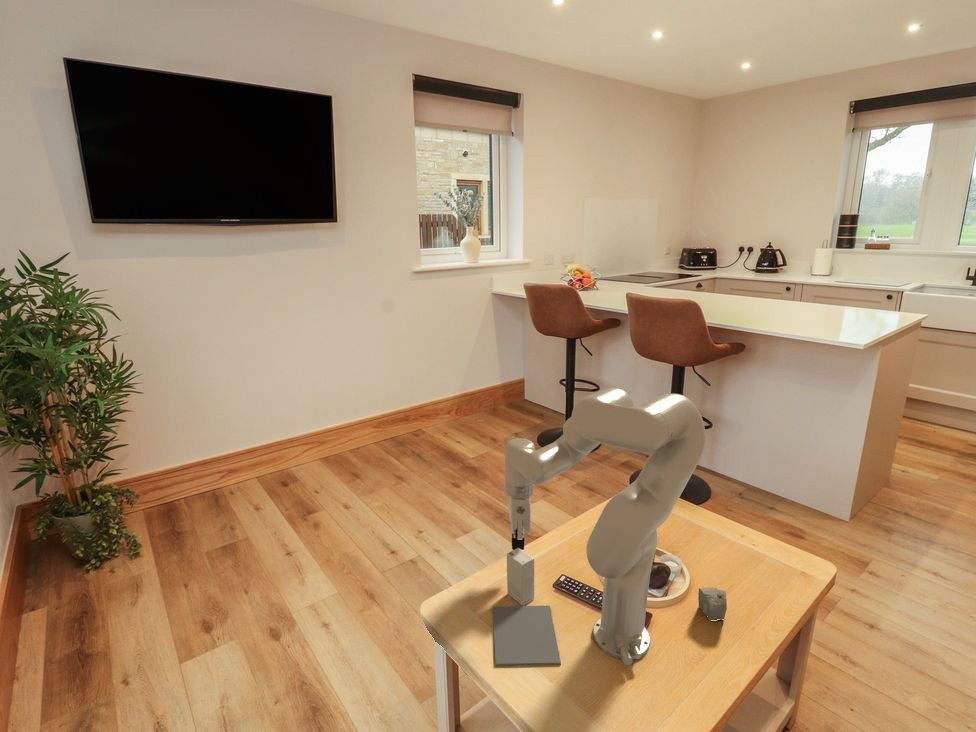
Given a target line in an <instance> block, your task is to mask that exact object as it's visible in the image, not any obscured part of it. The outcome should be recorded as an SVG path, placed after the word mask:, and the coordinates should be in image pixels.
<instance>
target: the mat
mask: <svg viewBox="0 0 976 732" xmlns="http://www.w3.org/2000/svg"><path fill="white" fill-rule="evenodd" d="M492 613H493V614H492V616H493V617H492V618H493V634H494V635H493V636H494V658H495V667H512V666H513V667H515V666H516V667H517V666H561V664H562V662H561V657H560V651H559V645H558V642H557V637H556V631H555V625H554V620H553V615H552V610H551V606H550V605H524V606H522V605H512V606H511V605H503V606H502V605H501V606H496V605H495V606H494V605H493V606H492Z"/></svg>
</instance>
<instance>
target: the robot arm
mask: <svg viewBox="0 0 976 732" xmlns="http://www.w3.org/2000/svg"><path fill="white" fill-rule="evenodd" d="M705 443H706V429H705V422H704V420H703V416H702V413H700V410H699V409H698V407H697V406H696V404H694V402H693V401H692V400H691V399H690V398H688V397H686V396H685V395H682V394H679V393H665V394H662V395H658V396H656V397H654V398H652V399H649V400H648V401H645V402H644V403H642V404H640V405H638V406H634V401H633V399H632V397H631V396H630V394H628V393H627V392H626V391H625V390H623V389H620V388H617V387H607V388H605V389H602V390H599V391H598V392H597V391H596V392H594V393H592V394H590V395H587V396H585V397H583V398H581V399H580V400H578V401H577V402H576V403H575V406H574V407H573V408H572V411H571V416H570V417H569V418H568V419H567V420H566V421H565V422H564V424H563V427H562V435H561V436H560V437H559V438H557V439H556V440H555V441H553V442H552V443H549V444H547V445H545V446H543V447H541V448H539V449H536V447H535V444H534V442H533V441H531V440H530V439H527V438H523V437H522V438H521V437H517V438H516V437H515V438H512V439H510V440H508V441H507V442H506V444H505V447H504V452H505V453H504V494H505V495H506V496H508V513H509V521H510V527H511V549H512V550H511V551H513V550H515V549H517V548H519V549H521V550H522V551H524V550H525V534H530V533H531V531H532V530H531V518H532V517H531V509H532V508H531V497H533V496H534V494H535V485H540V486H541V485H543V484H545V483H547V482H549V481H550V480H553V478H555V477H556V476H559V475H561V474H562V473H564V472H567V471H568V470H569V469H571V468H572V467H573V466H575V465H576V464H578V463H579V462H580V461H581V460H582V459H584V458H586V456H588V455H589V454H590V453H591V452H592V451H593V450H595V449H596V448H597V447H598V446H599V445H601V444H603V445H605V446H611V447H613V448H614V447H615V448H619V449H621V450H622V449H623V450H627V451H632V452H634V453H635V452H636V453H650V454H649V456H648V457H647V459H646V462H645V463H644V465H643V467H642V469H641V471H640V473H639V474H638V476H637V477H636V479H635V480H634V481H633V482H632V483H630V484H629V485H627V486H626V487H625V488H624V489H621V490H620V491H619V492H618V493H616V494H615V495H614V496H612V498H611V499H610V500H609V501H608V502H607V503H606V505H605V506H604V508H603V509H602V511H601V514H600V515H599V517H598V519H597V522H596V523H595V525H594V528H593V529H592V532H591V533H590V535H589V537H588V540H587V543H586V549H585V551H586V553H585V554H586V559H587V562H588V563H589V566H590V567H591V569H592V570H593V572H595V573H596V574H597V575H598V576H600V577H602V578H604V579H603V592H602V600H601V601H602V603H601V616H600V618H598V619H597V620H596V621H595V623H594V624H593V628H592V629H593V630H592V634H593V639H594V641H595V643H596V645H597V647H598V648H600V650H601V651H603V652H604V653H605V654H607V655H608V656H611V657H613V658H615V659H620V660H622V662H623V664H624V665H626V666H628V665H629V666H630V665H631V664H632V663H633V660H639V659H641V658H642V657H643V656H644V655H645V654H646V653H647V652H648V651H649V649H650V645H651V637H650V633H649V632H648V630H647V629H646V627H645V622H646V615H647V614H646V613H647V606H648V605H647V604H648V598H649V597H648V595H649V587H650V579H651V572H652V567H653V562H654V558H655V556H656V552H657V547H658V538H659V536H658V528H659V527H661V525H663V524H664V523H665V522H666V521H667V520H668V518H669V517H670V515H671V513H672V512H673V509H674V508H675V506H676V503H677V502H678V500H679V498H681V495H682V493H683V491H684V489H685V488H686V486H687V484H688V482H689V481H690V479H691V478H692V477H691V476H693V473H694V472H695V469H696V468H697V466H698V464H699V462H700V459H701V458H702V455H703V451H704V448H705Z"/></svg>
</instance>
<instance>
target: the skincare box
mask: <svg viewBox="0 0 976 732" xmlns="http://www.w3.org/2000/svg"><path fill="white" fill-rule="evenodd" d="M506 580H507V582H506V583H507V584H506V585H507V586H506V588H507V592H506V593H507V594H508V595H509V596H510V597H511V598H512V599H514V600H515V601H516V602H517V603H518V604H520V606H527V605H528V604H529V603H531V602H533V601H534V599H535V558H534V557H532V556H531V555H529V554H528V553H526V552H525V551H524V550H521V549H519V548H517V549H515V550H511V551H510V552H508V553H506Z"/></svg>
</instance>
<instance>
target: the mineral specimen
mask: <svg viewBox="0 0 976 732" xmlns="http://www.w3.org/2000/svg"><path fill="white" fill-rule="evenodd" d="M697 596H698V597H697V598H698V599H697V600H698V607H699V608H700V609H702V610H703V611H704V613H705V614H706V615H707V616H708V618H709V619H710V620H717V619H720V620H722V619H724V620H725V618H726V612H727V608H728V605H727V592H726V590H724V589H723V590H722V589H718V588H717V587H700V588H698V594H697ZM702 610H701V611H702ZM703 611H702V612H703ZM704 613H703V614H704ZM705 614H704V615H705ZM706 615H705V616H706ZM707 616H706V617H707ZM708 618H707V619H708ZM709 619H708V620H709ZM710 620H709V621H710Z"/></svg>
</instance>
